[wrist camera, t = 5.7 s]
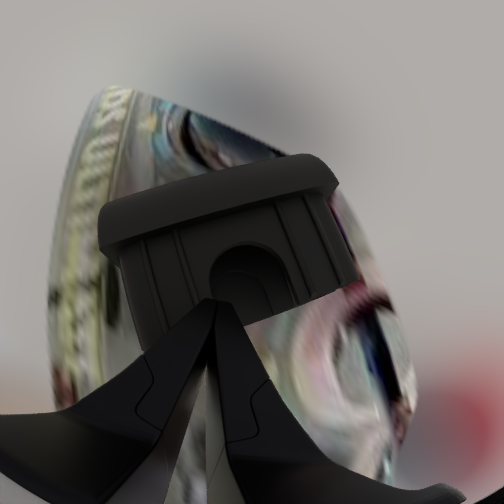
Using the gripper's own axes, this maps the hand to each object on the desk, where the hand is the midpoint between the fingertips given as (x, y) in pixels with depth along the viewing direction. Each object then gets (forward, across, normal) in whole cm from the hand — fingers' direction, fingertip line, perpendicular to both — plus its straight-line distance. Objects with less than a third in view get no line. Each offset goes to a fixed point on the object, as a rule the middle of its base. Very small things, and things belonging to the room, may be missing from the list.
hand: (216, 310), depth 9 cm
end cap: (+7, 0, +3) cm, 8 cm away
